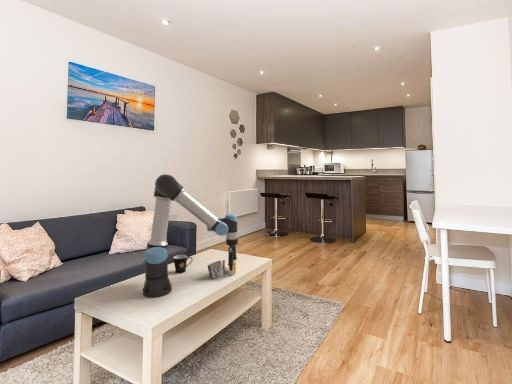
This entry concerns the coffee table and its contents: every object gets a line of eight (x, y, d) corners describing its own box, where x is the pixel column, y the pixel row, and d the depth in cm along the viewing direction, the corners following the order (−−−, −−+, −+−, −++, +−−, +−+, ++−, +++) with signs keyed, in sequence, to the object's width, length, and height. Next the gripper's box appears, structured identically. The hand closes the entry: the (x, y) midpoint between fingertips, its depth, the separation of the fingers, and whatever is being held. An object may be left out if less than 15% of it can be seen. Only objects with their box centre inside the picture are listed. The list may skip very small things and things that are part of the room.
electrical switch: (213, 279, 173) (211, 264, 173) (207, 278, 176) (206, 263, 176) (224, 275, 180) (222, 260, 180) (218, 274, 183) (217, 259, 183)
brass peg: (222, 269, 186) (222, 260, 186) (222, 268, 188) (222, 260, 188) (225, 268, 187) (224, 260, 187) (224, 268, 188) (224, 260, 188)
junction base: (220, 272, 185) (220, 270, 185) (219, 270, 189) (219, 267, 189) (227, 271, 186) (227, 269, 186) (226, 269, 190) (226, 267, 190)
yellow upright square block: (235, 273, 182) (235, 263, 181) (228, 273, 182) (228, 263, 182) (236, 271, 186) (236, 260, 186) (229, 271, 186) (229, 260, 186)
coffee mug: (172, 274, 183) (171, 258, 182) (175, 269, 192) (175, 255, 191) (190, 273, 183) (190, 258, 183) (193, 269, 192) (192, 254, 191)
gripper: (234, 242, 171) (235, 278, 173) (240, 234, 193) (240, 266, 195) (222, 242, 172) (223, 278, 173) (229, 234, 194) (230, 266, 195)
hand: (232, 272), depth 184 cm, fingers open, 10 cm apart
